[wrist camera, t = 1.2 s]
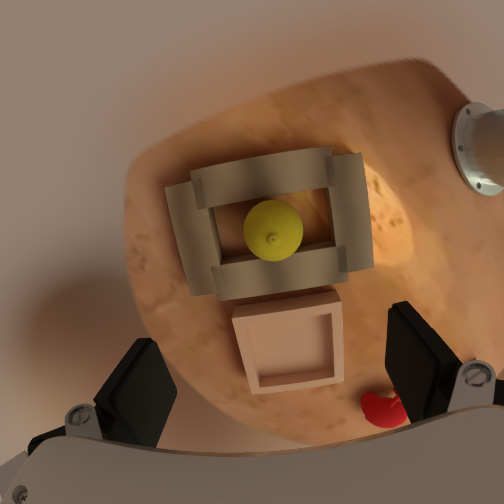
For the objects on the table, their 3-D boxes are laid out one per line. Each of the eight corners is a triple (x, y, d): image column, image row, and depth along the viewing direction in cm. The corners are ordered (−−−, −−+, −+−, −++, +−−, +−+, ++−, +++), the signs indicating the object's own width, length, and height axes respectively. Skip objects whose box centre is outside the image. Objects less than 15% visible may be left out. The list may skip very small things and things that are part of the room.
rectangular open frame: (352, 145, 26) (359, 142, 24) (367, 268, 30) (374, 276, 28) (170, 177, 29) (162, 178, 26) (198, 295, 32) (193, 304, 30)
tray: (335, 290, 31) (341, 301, 28) (339, 367, 34) (343, 381, 31) (234, 305, 32) (231, 318, 30) (253, 379, 36) (252, 394, 33)
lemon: (300, 198, 29) (311, 208, 21) (295, 249, 30) (304, 275, 22) (248, 194, 29) (240, 202, 21) (245, 245, 30) (236, 270, 23)
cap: (419, 396, 32) (405, 404, 28) (405, 428, 31) (389, 439, 28) (380, 380, 38) (362, 386, 35) (368, 410, 38) (349, 418, 35)
